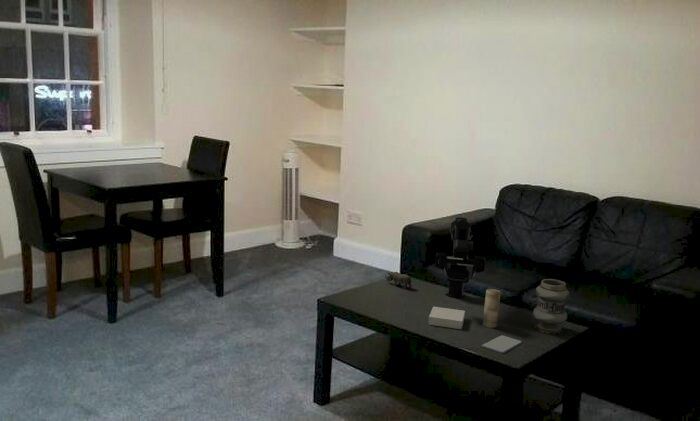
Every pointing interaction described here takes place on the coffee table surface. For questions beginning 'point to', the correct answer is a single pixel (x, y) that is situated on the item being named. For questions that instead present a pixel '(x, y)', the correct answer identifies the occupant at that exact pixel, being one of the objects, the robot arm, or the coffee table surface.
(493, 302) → the birch pillar
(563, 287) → the apothecary jar
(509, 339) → the smartphone
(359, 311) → the coffee table surface
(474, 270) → the robot arm
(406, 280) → the rhino figurine
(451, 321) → the cream plinth
